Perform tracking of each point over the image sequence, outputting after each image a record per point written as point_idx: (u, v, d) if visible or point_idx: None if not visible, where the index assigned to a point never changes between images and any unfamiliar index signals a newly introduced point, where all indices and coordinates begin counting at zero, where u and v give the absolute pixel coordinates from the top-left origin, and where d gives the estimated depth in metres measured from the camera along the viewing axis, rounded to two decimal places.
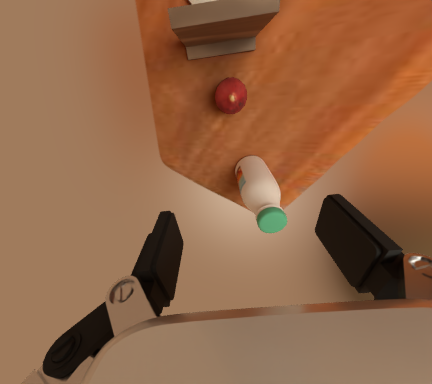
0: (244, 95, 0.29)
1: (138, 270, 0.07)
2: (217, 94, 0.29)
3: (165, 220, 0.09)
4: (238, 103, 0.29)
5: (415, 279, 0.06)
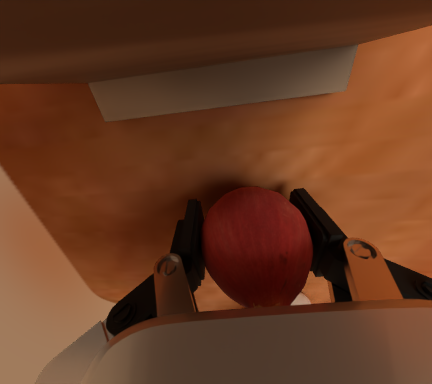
0: None
1: (180, 248, 0.07)
2: (206, 256, 0.08)
3: (194, 207, 0.10)
4: None
5: (356, 263, 0.06)
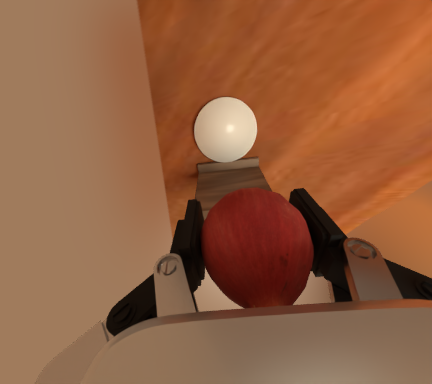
0: None
1: (180, 248, 0.07)
2: (206, 257, 0.08)
3: (194, 207, 0.10)
4: None
5: (356, 263, 0.06)
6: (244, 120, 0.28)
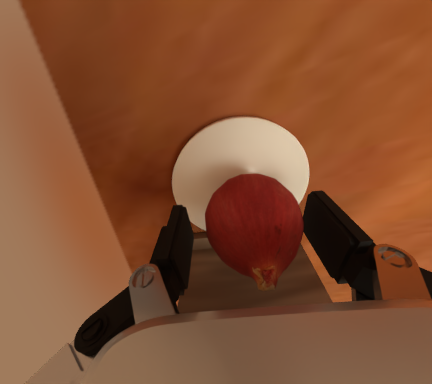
0: None
1: (158, 258, 0.07)
2: (211, 232, 0.09)
3: (179, 213, 0.10)
4: None
5: (386, 270, 0.06)
6: (282, 166, 0.13)
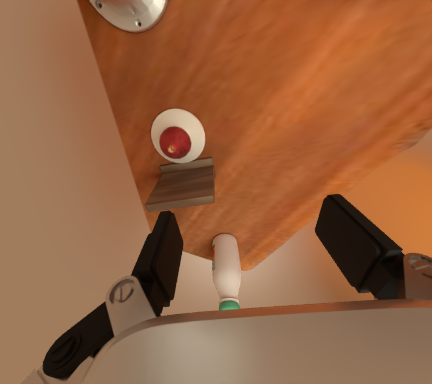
0: (186, 143, 0.30)
1: (138, 270, 0.07)
2: (159, 143, 0.30)
3: (165, 220, 0.09)
4: (179, 152, 0.29)
5: (415, 279, 0.06)
6: (191, 126, 0.33)
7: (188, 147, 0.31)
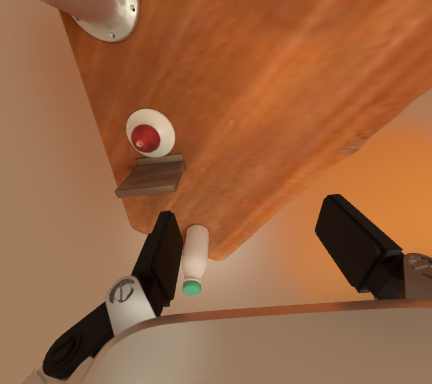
0: (153, 139, 0.34)
1: (138, 270, 0.07)
2: (131, 138, 0.34)
3: (165, 220, 0.09)
4: (147, 147, 0.34)
5: (415, 279, 0.06)
6: (162, 125, 0.38)
7: (156, 143, 0.35)
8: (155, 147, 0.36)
